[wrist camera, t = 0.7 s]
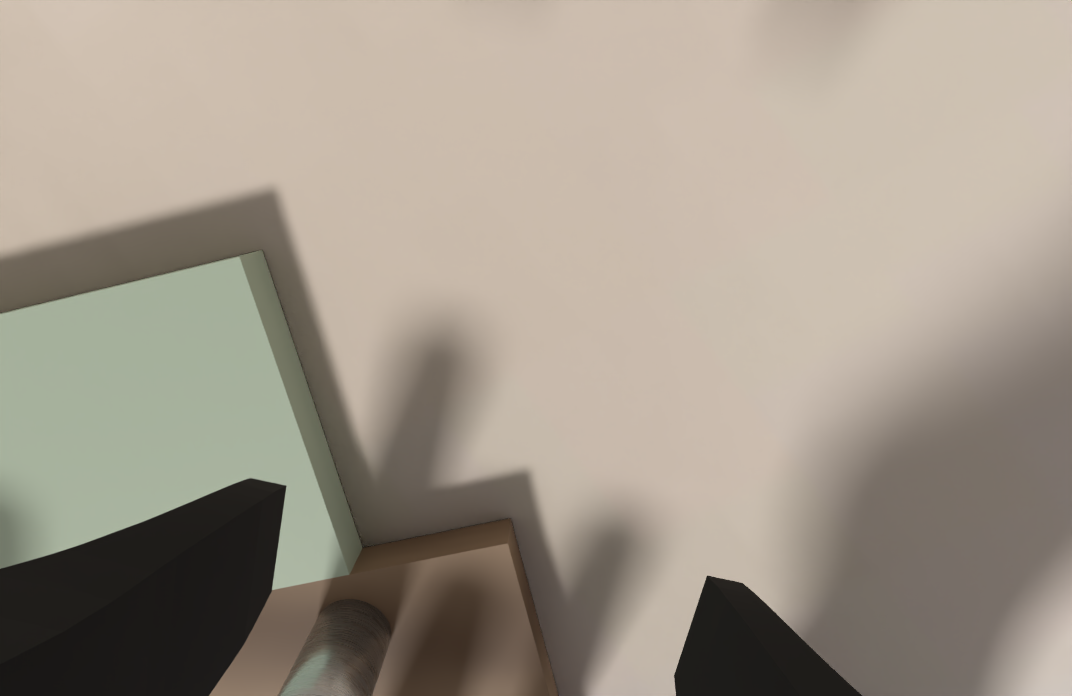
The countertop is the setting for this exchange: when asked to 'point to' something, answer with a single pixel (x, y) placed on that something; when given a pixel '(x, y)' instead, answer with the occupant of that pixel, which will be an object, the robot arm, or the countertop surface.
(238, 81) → the countertop surface
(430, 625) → the board
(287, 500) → the pad
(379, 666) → the spacers
